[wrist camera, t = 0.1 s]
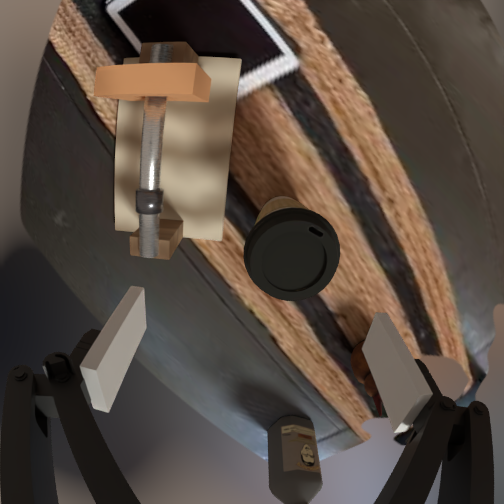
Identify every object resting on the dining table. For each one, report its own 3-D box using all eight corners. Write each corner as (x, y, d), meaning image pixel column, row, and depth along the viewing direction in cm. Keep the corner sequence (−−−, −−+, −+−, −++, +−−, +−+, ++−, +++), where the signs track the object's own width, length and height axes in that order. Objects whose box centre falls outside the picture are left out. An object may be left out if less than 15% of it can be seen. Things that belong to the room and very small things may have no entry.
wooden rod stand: (127, 59, 34) (98, 47, 26) (241, 60, 35) (237, 43, 27) (118, 227, 44) (91, 250, 36) (222, 238, 45) (214, 265, 36)
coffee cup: (233, 229, 44) (224, 279, 30) (270, 169, 41) (278, 192, 27) (292, 261, 46) (307, 320, 32) (329, 206, 43) (363, 246, 29)
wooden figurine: (355, 365, 54) (376, 425, 41) (341, 348, 53) (362, 411, 39) (385, 346, 53) (413, 404, 39) (373, 328, 51) (402, 388, 37)
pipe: (153, 49, 28) (144, 43, 25) (180, 49, 28) (173, 42, 25) (141, 247, 37) (132, 257, 34) (165, 249, 37) (158, 260, 35)
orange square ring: (133, 78, 32) (96, 67, 23) (211, 78, 33) (196, 63, 23) (130, 100, 33) (93, 96, 24) (208, 102, 34) (192, 94, 25)
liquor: (295, 440, 64) (306, 550, 37) (263, 431, 63) (264, 549, 35) (318, 421, 61) (337, 539, 34) (284, 411, 60) (294, 540, 32)
